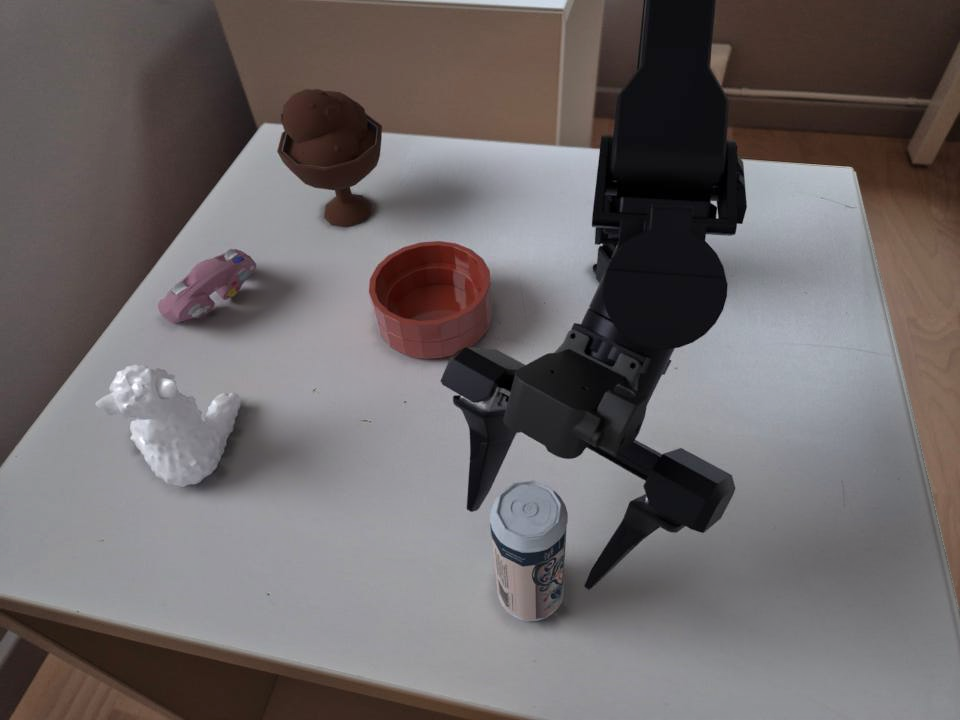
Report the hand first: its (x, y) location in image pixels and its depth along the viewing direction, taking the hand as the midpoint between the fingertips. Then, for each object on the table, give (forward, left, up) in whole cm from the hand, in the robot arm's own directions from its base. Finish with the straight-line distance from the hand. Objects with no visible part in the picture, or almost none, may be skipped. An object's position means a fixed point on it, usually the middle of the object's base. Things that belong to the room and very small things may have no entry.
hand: (527, 547), depth 48 cm
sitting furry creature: (+22, -22, -8) cm, 32 cm away
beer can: (0, 0, -8) cm, 8 cm away
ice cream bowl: (+2, -49, -8) cm, 50 cm away
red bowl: (-2, -29, -8) cm, 30 cm away
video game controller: (+18, -40, -8) cm, 45 cm away
